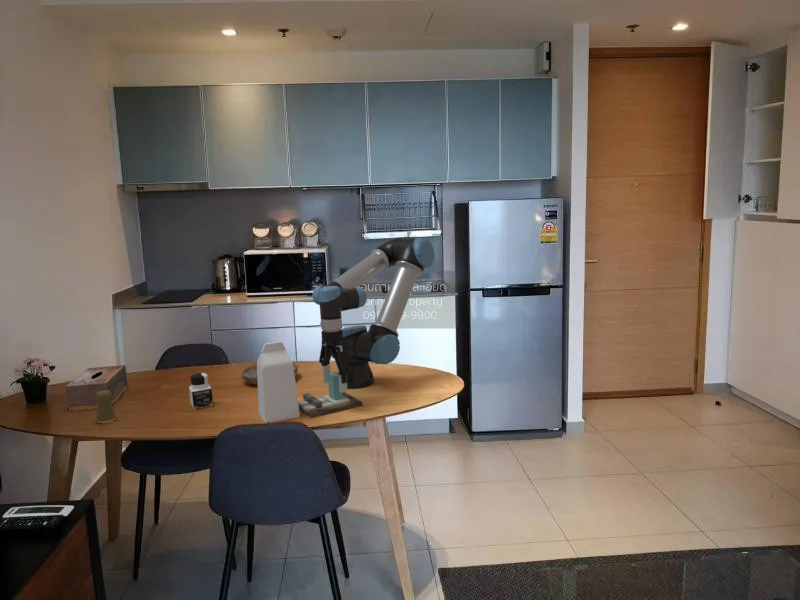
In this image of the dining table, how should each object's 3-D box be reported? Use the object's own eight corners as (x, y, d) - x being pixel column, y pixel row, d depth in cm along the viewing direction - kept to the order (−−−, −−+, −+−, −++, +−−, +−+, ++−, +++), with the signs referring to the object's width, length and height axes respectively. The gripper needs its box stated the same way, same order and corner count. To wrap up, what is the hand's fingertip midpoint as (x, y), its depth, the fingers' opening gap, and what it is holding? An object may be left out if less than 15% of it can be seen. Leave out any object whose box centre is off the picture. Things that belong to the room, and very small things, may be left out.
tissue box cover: (91, 391, 253) (88, 368, 252) (128, 388, 256) (125, 365, 254) (68, 412, 228) (65, 386, 227) (109, 408, 231) (106, 382, 229)
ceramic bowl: (310, 376, 260) (309, 364, 260) (271, 392, 241) (269, 380, 240) (270, 370, 273) (269, 359, 272) (230, 384, 253) (229, 373, 252)
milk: (265, 423, 207) (258, 348, 203) (258, 413, 217) (252, 341, 213) (299, 416, 212) (294, 343, 207) (292, 407, 222) (286, 337, 218)
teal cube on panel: (323, 398, 225) (321, 372, 223) (337, 395, 228) (336, 369, 226) (335, 405, 216) (333, 378, 215) (350, 402, 219) (348, 375, 218)
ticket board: (295, 407, 221) (294, 395, 221) (344, 395, 232) (343, 384, 231) (310, 418, 210) (309, 405, 209) (362, 405, 220) (361, 393, 219)
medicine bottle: (193, 409, 224) (190, 378, 222) (190, 404, 230) (187, 373, 228) (213, 406, 227) (210, 374, 225) (210, 400, 233) (206, 370, 231)
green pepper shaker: (101, 418, 219) (97, 389, 217) (118, 417, 219) (115, 387, 218) (94, 424, 213) (90, 394, 211) (112, 423, 213) (108, 393, 212)
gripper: (308, 325, 226) (311, 381, 230) (337, 337, 205) (341, 397, 209) (326, 323, 230) (329, 377, 234) (357, 333, 209) (360, 393, 213)
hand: (335, 387), depth 221 cm, fingers open, 13 cm apart
